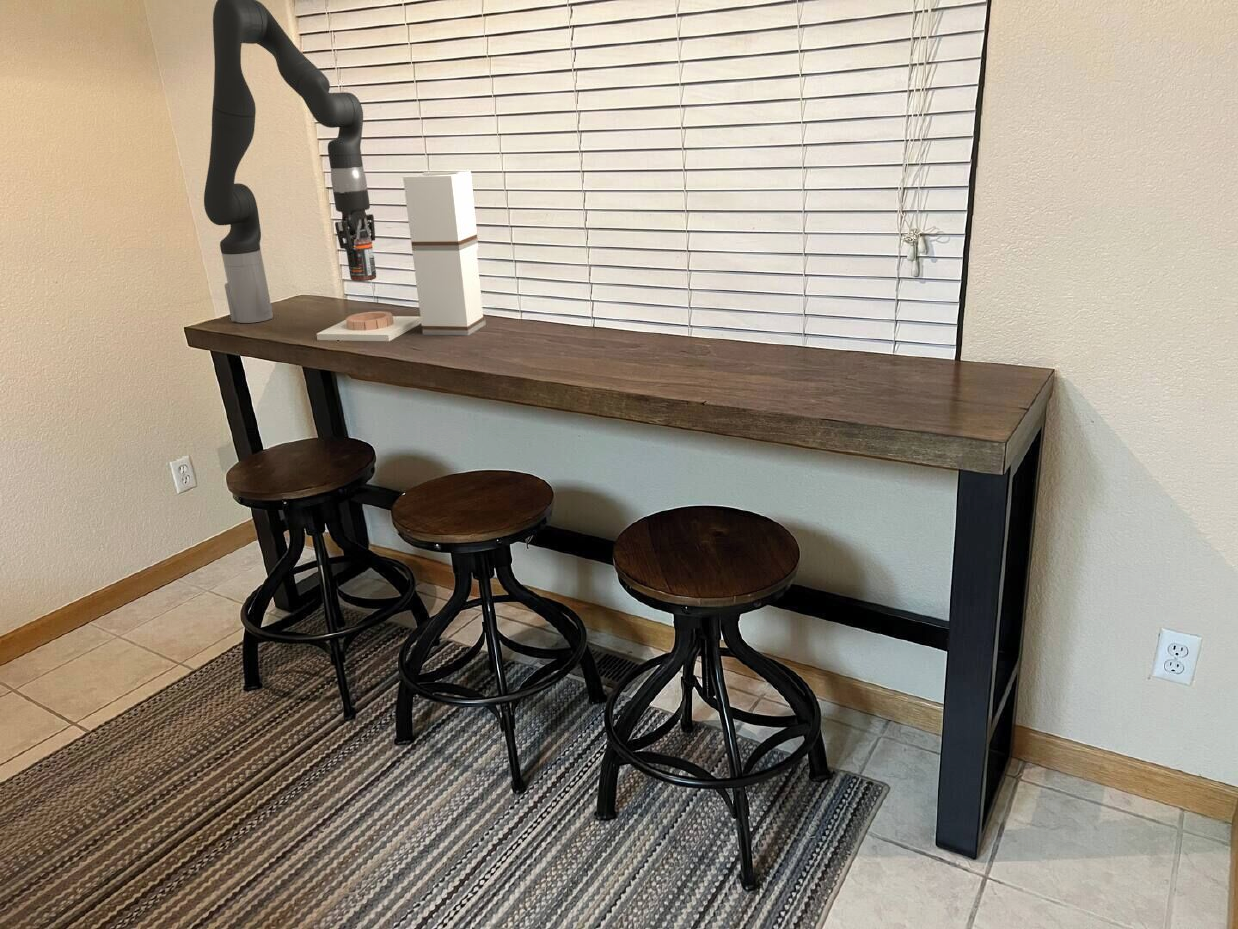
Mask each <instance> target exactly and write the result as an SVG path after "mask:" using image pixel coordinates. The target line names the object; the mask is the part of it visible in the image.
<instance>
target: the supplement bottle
mask: <svg viewBox="0 0 1238 929" xmlns="http://www.w3.org/2000/svg"><path fill="white" fill-rule="evenodd" d="M366 235H367V234H366V230H365V229H362V230H360V237H359V240H358V241H357V249H356V250H357V252H358V259H359V266H358V267H350V266H349V261H348V254H347V250H345V251H346V259H347V264H348V272H349V276H350V277H349V278H350V280H351V281H352V282H368V281H373V280H375V279H376V278H377V271H376V263H375V256H374V249H373V248H374V247H373V241H371V240H370V239H369V238H368V237H367V236H366ZM350 236H353V235H350ZM351 242H353V240H351Z"/></svg>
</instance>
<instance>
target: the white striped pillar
mask: <svg viewBox="0 0 1238 929" xmlns="http://www.w3.org/2000/svg"><path fill="white" fill-rule="evenodd" d="M402 180H403V188H404V194H405V196H404V197H405V204H406V205H405V206H406V212H407V213H406V214H407V219H408V228H409V234H410V243H411V251H412V259H413V267H414V268H413V269H414V275H415V276H414V277H415V282H416V290H417V299H418V307H419V314H420V316H419V317H421V324H420V325H421V330H422V335H431V336H433V335H434V336H439V335H440V336H470V335H472V334H473V333H475V332H476V331H478V330H479V329H481V328H482V327H485V326H486V316H485V315H484V311H483V303H482V302H483V301H482V292H481V280H480V272H479V262H478V250H479V241H478V230H477V220H476V212H475V211H476V210H475V200H474V190H473V181H472V172H471V170H470V171H469V170H468V171H467V170H466V171H442V172H441V171H435V172H434V171H430V172H427V171H426V172H422V175H417V176H415V175H411V176H402Z"/></svg>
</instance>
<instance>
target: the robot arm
mask: <svg viewBox="0 0 1238 929" xmlns="http://www.w3.org/2000/svg"><path fill="white" fill-rule="evenodd" d="M212 32H213V33H212V35H213V36H212V37H213V53H214V54H213V56H214V74H213V75H214V76H213V77H214V79H213V80H214V81H213V82H214V83H213V96H212V98H213V100H212V112H211V136H210V151H209V161H208V162H209V163H208V169H207V175H206V181H205V188H204V193H203V206H204V211H205V214H206V217H208V220H209V221H211V223H213V224H214V225H217V226H229V225H230V229H229V232H228V234H227V235H226V236H225V237H224V238H222V239H221V241H220V242H219V248H220V252H221V257H222V261H223V267H224V272H225V277H226V283H225V284H224V290H225V296H226V300H227V304H228V310H229V315H230V320H231V322H236V323H239V324H240V323H241V324H253V323H259V322H265V321H268V320H271V319H273V318H274V314H273V307H272V302H271V298H270V293H269V287H268V281H267V277H266V271H265V266H264V260H263V255H262V249H261V238H262V231H261V230H262V229H261V225H260V216H259V209H258V203H257V200H256V197H255V195H254V193H253V191H252V190H251V189H250V188H249V187H248V185H246V184H244V183H235V178H236V172H237V171H238V167H239V165H240V163H241V161H242V159H243V158H244V156H245V154H246V152H247V150H248V149H249V147H250V145H251V143H252V140H253V138H254V134H255V127H256V126H255V124H256V115H257V114H256V113H257V107H256V102H255V99H254V96H253V94H252V92H251V89H250V88H249V84H248V82H247V81H246V79H245V76H244V73H243V70H242V61H241V60H242V45H243V44H246V45H247V44H249V45H251V44H252V45H255V44H256V45H259V46H261V47H262V48H263V49H265V50H266V51H267V52H268V53H269V54H271V55H272V56H273V57H274V60H275V62H276V66H277V70H278V72H279V75H280V76H281V77H282V79H283V81H285V83H286V84H288V86H289V87H291V89H292V90H294V92H296V94H298V95H299V96H300V98H302V100H303V101H304V103H305V105H306V107H307V109H308V110H309V112H310V114H311V115H312V117H313V118H314V119H315V121H316V122H317V123H319V124H320V125H322V126H324V127H326V128H330V129H334V128H335V129H336V128H338V135H337V137H336V138H334V139H332V140H330V141H329V142H328V143H327V152H328V154H327V155H328V160H329V167H330V180H331V188H332V193H333V200H334V207H335V211H336V212H339V213H341V221H335V223H334V226H335V230H336V236H337V240H338V243H339V247H340V249H341V250H342V249H343V250H345V251H346V250H347V252H346V255H347V254H348V259H347V262H348V261H349V266H350V267H358V266H359V259H358V252H357V250H356V249H357V241H358V240H359V237H360V230H362V229H365V230H366V234H367V235H366V236H367V237H368V238H369V239H370V240H371V241H372V242H374V241H376V229H375V217H374V214H373V213H372V214H371V213H369V214H367V213H366V211H367V210H370V208H371V204H370V197H369V189H368V184H367V177H366V174H365V169H364V165H363V158H362V151H361V143H362V137H363V136H362V135H363V125H364V110H363V106H362V104H361V102H360V100H359V98H358V97H357V96H356V95H355V94H353V93H351V92H346V91H345V92H330V88H331V84H330V81H329V79H328V77H327V76H326V75H325V74H324V73H323V72H322V71H321V70H320V68H318V67H317V66H316V65H315V64H314V63H313V62H312V61H310V59H308V58H307V57H306V55H304V53H302V52H301V50H300V49H299V48H298V47H297V46H296V45H295V44H294V42H293V41H292V40H291V39H290V37H289V36H288V35H287V33H286V32H285V31H284V29H283V28H282V26H281V25H280V24H279V23H278V21H277V20H276V18H275V16H273V14H272V13H271V12H270V11H269V10H268V8H267V7H266V6H265V5H264V4H263V3H261V2H260V1H259V0H217V1H216V2H215V5H214V8H213V12H212ZM350 235H353V236H350ZM351 240H353V242H351ZM349 266H348V267H349Z"/></svg>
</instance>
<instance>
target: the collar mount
mask: <svg viewBox="0 0 1238 929" xmlns="http://www.w3.org/2000/svg"><path fill="white" fill-rule="evenodd" d="M419 325H422V324H421V316H415V315H414V316H412V315H411V316H407V315H405V316H403V315H402V316H401V315H399V316H398V315H397V316H396V315H393V313H391V312H390V311H389V312H388V311H368V312H366V311H365V312H360V313H355V314H351V315H349V316H347V317H345V320H342V321H341V322H338V323H336V324H334V325H332V326H329V327H328V328H326V329H323V330H322V331H320V332H317V333H316V339H317V341H337V340H339V341H342V342H343V341H344V342H345V341H346V342H347V341H348V342H352V341H353V342H391V341H392V340H394V339H396V338H398V337H399V336H402V335H403V334H405V333H406V332H408V331H410V330H412V329H414V328H416V327H417V326H419ZM339 341H338V342H339Z"/></svg>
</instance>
